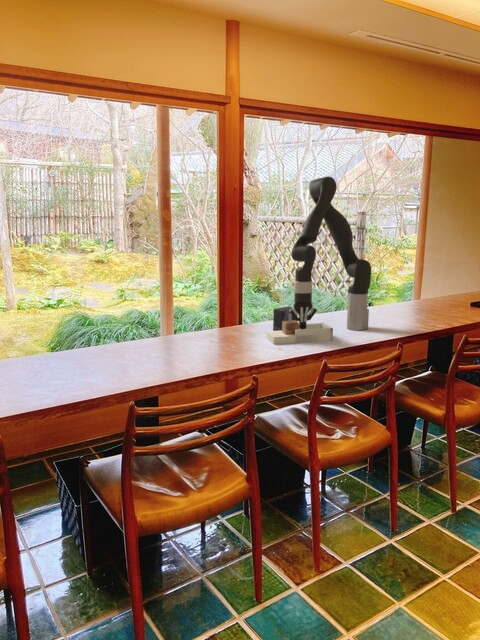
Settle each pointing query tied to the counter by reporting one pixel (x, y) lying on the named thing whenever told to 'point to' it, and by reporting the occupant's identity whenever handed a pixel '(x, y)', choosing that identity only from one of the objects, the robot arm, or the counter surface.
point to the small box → (281, 317)
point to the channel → (303, 334)
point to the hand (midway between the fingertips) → (302, 329)
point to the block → (289, 327)
